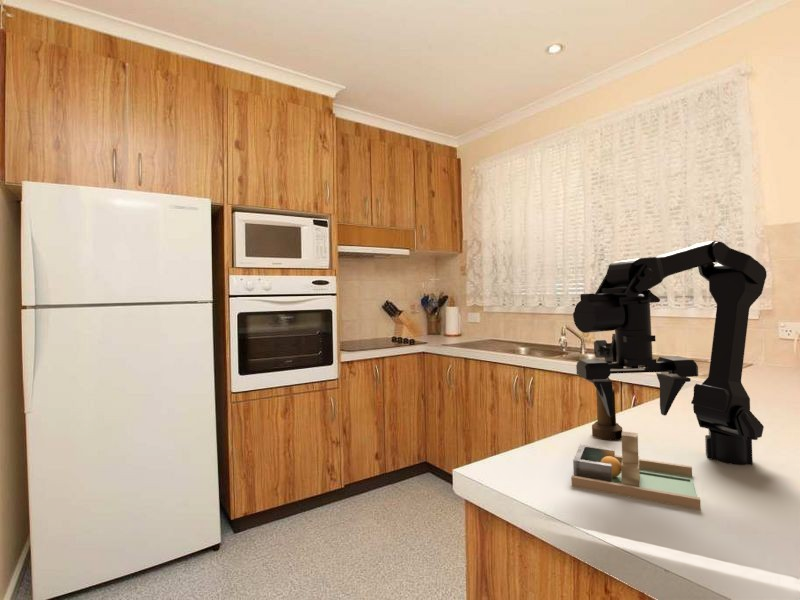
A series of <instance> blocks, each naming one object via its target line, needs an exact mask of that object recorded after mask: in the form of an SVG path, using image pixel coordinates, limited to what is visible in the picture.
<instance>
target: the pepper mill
mask: <svg viewBox="0 0 800 600" xmlns="http://www.w3.org/2000/svg"><path fill="white" fill-rule="evenodd" d="M601 360H602V361H605V359H601ZM609 377H610V376H609ZM609 377H608V380H610V381H611V378H609ZM595 395H596V397H595V398H596V412H597V413H596V414H597V416H596V417H597V418H596V419H597V421H595V422H594V423H592V425H591V434H592V436H593V437H594V438H596V439H598V440H604V441H619V440H622V431H623V427H622V426H621V425H620V424H619V423H617V416H616V391H615V389H614V388H613V416H612V417H610V416H608V414H607V411H606V409H605V407H604V404H603V402H602V399H601V397H600V395H599V392H598V391H597V389H596V388H595Z"/></svg>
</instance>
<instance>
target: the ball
mask: <svg viewBox="0 0 800 600" xmlns="http://www.w3.org/2000/svg"><path fill="white" fill-rule="evenodd" d="M600 462H601V463H607V464H612V477H616V476H618V475H619V474H620V473H621V464H620V462H619V461H618V460H617V459H616V458H614V457H612V456H606V457H604V458H603V459H602V460H601V461H600Z"/></svg>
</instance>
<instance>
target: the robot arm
mask: <svg viewBox="0 0 800 600" xmlns="http://www.w3.org/2000/svg"><path fill="white" fill-rule="evenodd" d="M715 263H716V264H715ZM695 268H698V272H699V275H700V276H702V277H703V279H705V280H706V281H708V291H709V294H710V295H711V296H712V299H713V300H714V302H715V303H716V311H715V320H714V327H713V336H712V345H711V352H710V353H711V354H710V360H709V369H708V377H707V378H706V379H705V380H704V381H703V382H702V383H695V384H694V386H693V397H692V400H691V405H693V406H692V409H693V413H694V414H695V417H696V419H697V422H698V425H699V428H702V429H707V430H708V434H706V435H705V436H704V437H705V438H704V440H705V441H704V442H705V444H704V445H705V456H706V458H707V459H708V460H714V461H718V462H720V463H724V464H728V465H733V466H735V465H737V466H745V465H750V466H753V465H754V463H753V461H754V460H753V441H758V439H759V438H762V435H763V431H764V428H765V427H764V425H763V423H762V422H761V421H760V420H759V419H758V418H757V417H756V415H755V414H753V413H752V411H751V398H750V396H749V395H748V393H747V391H746V389H745V386H744V385H743V384H742V375H743V366H744V365H743V364H744V357H745V351H746V350H745V349H746V341H747V332H748V323H749V314H750V308H751V306H753V304H754V303H755V302H756V301H757V300H759V297H760V296H762V294H763V291H764V288H765V283H766V279H767V275H768V274H767V269H766V267H764V265H763V264H761V263H760V262H759V261H758V260H757V259H755V258H754V257H752V256H751V255H749V254H748V253H745V252H742V251H740V250H736V249H735V248H734V249H733V248H731V247H729V246H728V245H727V244H726V243H724V242H723V241H718V240H713V241H705V242H698V243H694V244H693V245H691V246H688V247H684V248H682V249H678V250H674V251H672V252H667V253H664V254H663V253H662V254H660V255H657V256H652V257H640V258H632V259H623V260H617V261H616V260H615V261H613V262H611V263H610V264H609V265H608V269H607V270H606V273H605V276H604V277H603V279H602V281H601V282H600V284H599V285H598V288H597V290H596V292H595V293H581V294H580V295H579V296H580V300H579V302H577V303H576V305H575V307H574V311H573V313H572V316H573V317H572V319H573V323H574V325H575V327H576V328H577V330H578V331H579V332H582V333H585V334H587V333H599V332H610V331H611V332H612V331H614V333H612V336H611V342H607V340H606V339H600V340H599V339H598V340H595V341H594V342H593V352H594V357H595V358H592V359H591V358H589V359H586V358H585V359H579V360H578V361H577V362H576V365H575V367H576V369H575V370H576V375H578V376H580V377H581V378H583V379H585V380H586V381H588V382H589V383H592V384H593V385H594V387H595V390H596V389H597V391H598V392H599V395H600V397H601V399H602V402H603V404H604V407H605V409H606V411H607V414H608V416H610V417H612V416H613V389H614V387H613V381H612V380H611V379H610V380H608V377H610V376H611V374H613V375H614V374H636V373H637V374H640V373H641V374H642V373H655V374H656V377H657V379H658V382H659V410H660V415H661V416H665V417H666V416H667V415H668V413H669V411H670V409H671V407H672V405H673V403H674V401H675V400H676V398H677V396H678V394H679V393H680V391H681V390H682V388H683V387H684V385H685V384H686V383H688V382H691V380H692V379H691V377H695V378H696V377H699V365H698V364H697V362H696V361H695V360H694V359H692V358H687V357H683V356H679V355H677V356H676V355H675V356H673V355H671V356H670V355H669V356H659V357H658V358H657V359H656V358H653V357H654V356H653V342H656V335H654V334H652V319H651V304H653V303H660V302H661V299H660V298H659V297H658V296H657V295H655V294H654V293H653V292H652V291H651V290H650V289H652V288H654V287H656V286H657V285H659V284H661V283H662V282H663V280H664V279H665V278H667V277H669V276H672V275H675V274H679V273H682V272H687V271H689V270H691V269H695ZM600 358H604V360H605V361H602V360H603V359H600Z"/></svg>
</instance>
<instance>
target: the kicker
mask: <svg viewBox="0 0 800 600" xmlns="http://www.w3.org/2000/svg"><path fill="white" fill-rule="evenodd" d="M638 436H639V434H638V432H631V431H625V430H622V439H621V456H622V464H621V474H622V483H623V484H628V485H634V486H639V483H640V462H639V459H640V456H639V438H638Z"/></svg>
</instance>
